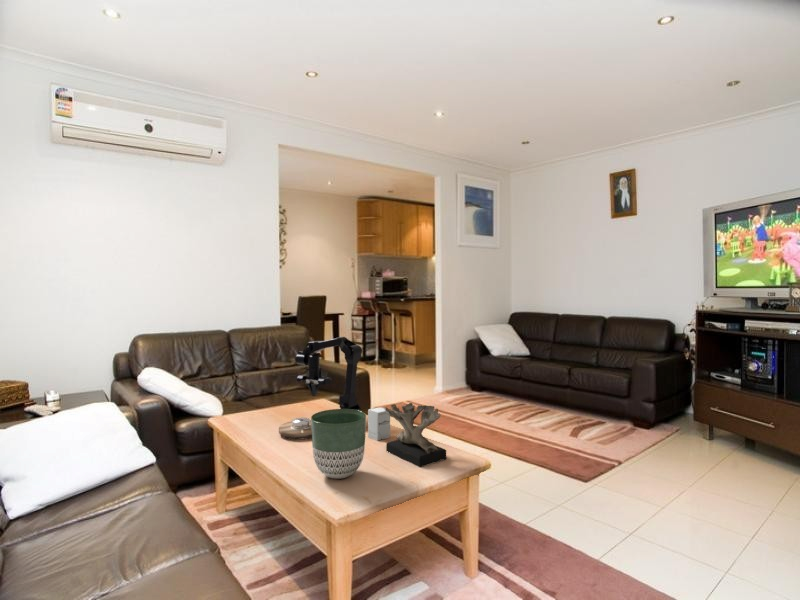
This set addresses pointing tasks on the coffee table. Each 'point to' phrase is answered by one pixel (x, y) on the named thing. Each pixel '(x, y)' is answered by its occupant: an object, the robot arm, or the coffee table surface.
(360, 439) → the planter
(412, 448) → the coral
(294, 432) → the turntable
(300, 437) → the turntable base
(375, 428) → the supplement box
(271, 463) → the coffee table surface
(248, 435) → the coffee table surface
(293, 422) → the cover
